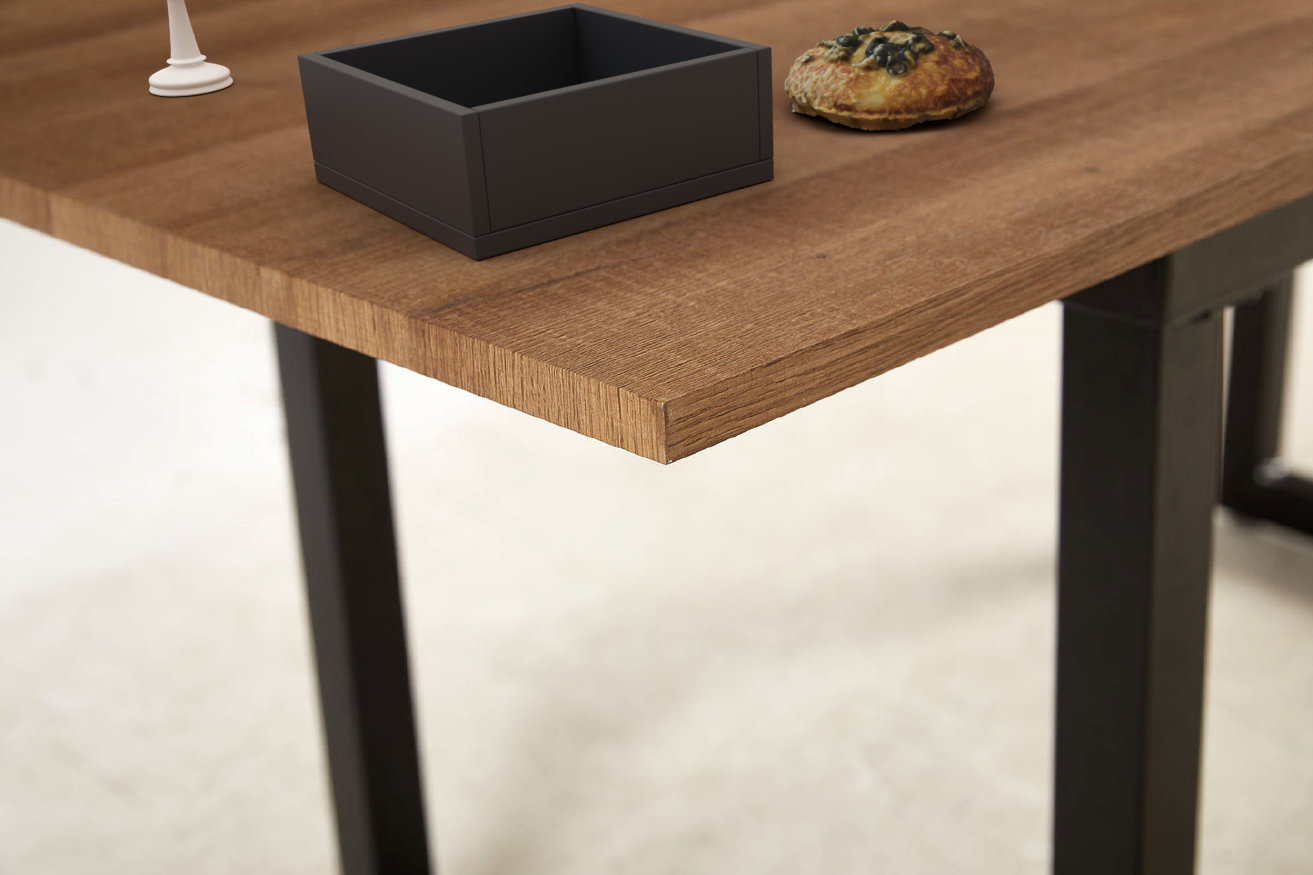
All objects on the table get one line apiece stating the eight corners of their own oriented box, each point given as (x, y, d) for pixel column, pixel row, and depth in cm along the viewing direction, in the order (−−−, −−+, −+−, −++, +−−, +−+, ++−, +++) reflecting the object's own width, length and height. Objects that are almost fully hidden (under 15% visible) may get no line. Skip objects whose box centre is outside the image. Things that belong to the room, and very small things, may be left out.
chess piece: (248, 77, 95) (220, -93, 91) (202, 97, 91) (170, -80, 87) (180, 75, 97) (149, -93, 92) (132, 95, 93) (96, -80, 88)
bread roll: (1037, 90, 81) (1032, -5, 79) (918, 170, 75) (908, 70, 72) (863, 73, 88) (853, -15, 86) (741, 145, 82) (727, 53, 80)
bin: (476, 261, 63) (460, 115, 60) (315, 180, 75) (296, 55, 72) (774, 179, 71) (772, 46, 68) (587, 117, 82) (578, 2, 80)
